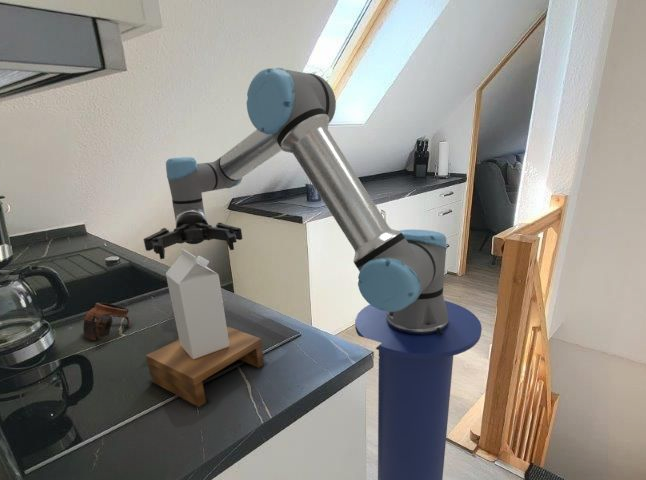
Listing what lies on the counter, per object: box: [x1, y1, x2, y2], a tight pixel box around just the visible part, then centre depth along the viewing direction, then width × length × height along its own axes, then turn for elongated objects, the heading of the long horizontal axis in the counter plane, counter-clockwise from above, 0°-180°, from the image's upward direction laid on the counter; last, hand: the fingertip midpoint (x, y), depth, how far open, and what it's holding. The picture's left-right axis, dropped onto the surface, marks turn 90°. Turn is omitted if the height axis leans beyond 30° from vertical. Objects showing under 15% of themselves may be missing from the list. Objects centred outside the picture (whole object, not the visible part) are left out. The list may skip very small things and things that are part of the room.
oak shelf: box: [145, 326, 265, 408], centre depth 79 cm, size 14×16×6 cm
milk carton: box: [165, 247, 229, 359], centre depth 75 cm, size 7×7×19 cm
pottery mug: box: [82, 302, 131, 341], centre depth 96 cm, size 12×10×8 cm
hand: (197, 248), depth 82 cm, fingers open, 13 cm apart
